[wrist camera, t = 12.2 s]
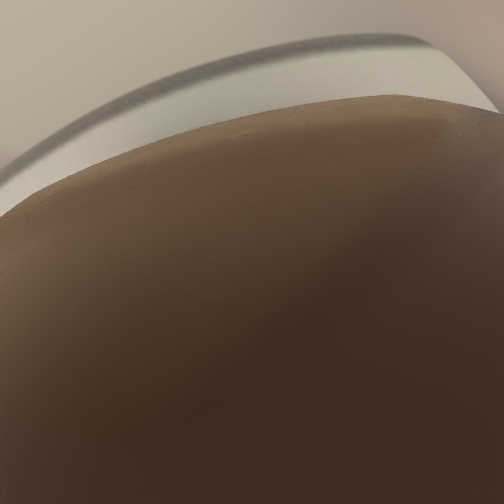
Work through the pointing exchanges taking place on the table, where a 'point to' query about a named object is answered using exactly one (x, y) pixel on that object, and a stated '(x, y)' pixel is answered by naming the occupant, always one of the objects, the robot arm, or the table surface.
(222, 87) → the table surface
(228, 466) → the lid
